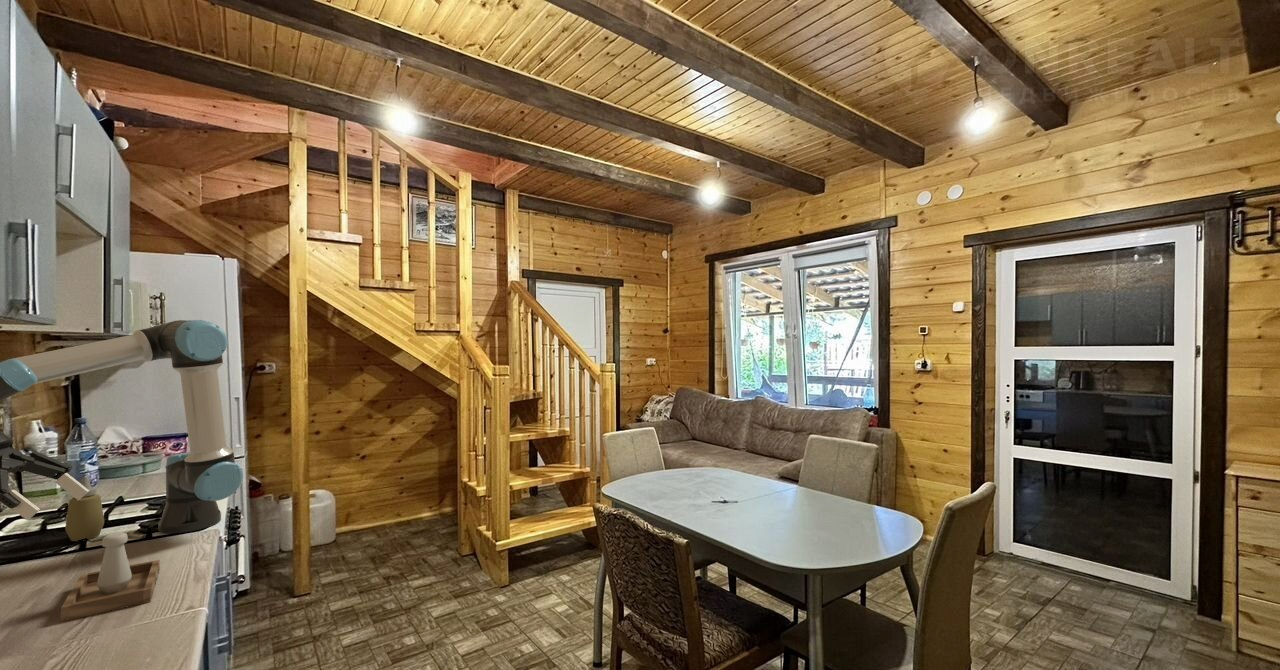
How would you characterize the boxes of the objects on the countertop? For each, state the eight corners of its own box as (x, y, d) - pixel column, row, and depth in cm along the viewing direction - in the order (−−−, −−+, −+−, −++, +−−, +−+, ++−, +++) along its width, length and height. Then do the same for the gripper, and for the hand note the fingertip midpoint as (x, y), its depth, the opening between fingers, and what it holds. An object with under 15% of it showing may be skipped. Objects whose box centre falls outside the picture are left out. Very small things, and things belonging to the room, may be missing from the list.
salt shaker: (109, 597, 121) (109, 540, 121) (90, 594, 123) (90, 537, 123) (138, 585, 127) (138, 530, 127) (120, 582, 128) (120, 528, 128)
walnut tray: (81, 586, 128) (81, 574, 128) (159, 571, 137) (159, 559, 137) (61, 621, 113) (61, 607, 113) (150, 601, 121) (150, 588, 121)
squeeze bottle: (92, 541, 155) (92, 479, 155) (57, 544, 152) (57, 481, 152) (111, 531, 163) (111, 472, 162) (77, 534, 160) (77, 474, 160)
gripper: (15, 442, 131) (89, 499, 134) (-101, 468, 106) (-7, 537, 110) (41, 419, 132) (114, 477, 135) (-68, 440, 107) (24, 510, 111)
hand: (60, 504), depth 122 cm, fingers open, 13 cm apart
